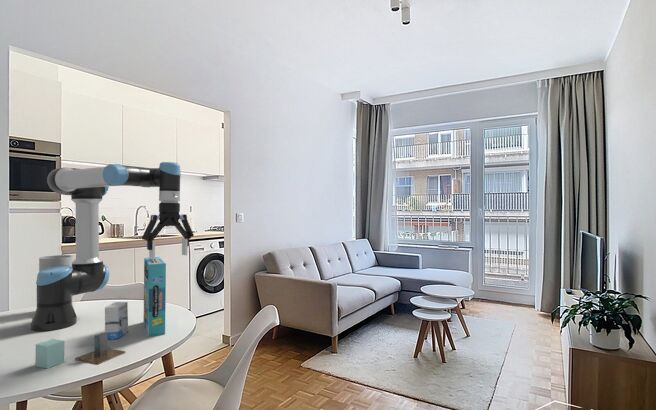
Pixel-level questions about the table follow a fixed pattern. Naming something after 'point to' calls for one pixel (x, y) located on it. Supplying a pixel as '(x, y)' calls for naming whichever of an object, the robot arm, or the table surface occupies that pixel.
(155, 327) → the game box
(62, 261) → the cylinder vase
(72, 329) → the table surface
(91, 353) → the brown peg stand
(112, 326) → the ink box
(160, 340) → the table surface
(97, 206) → the robot arm
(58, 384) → the table surface
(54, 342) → the mint foam cube
